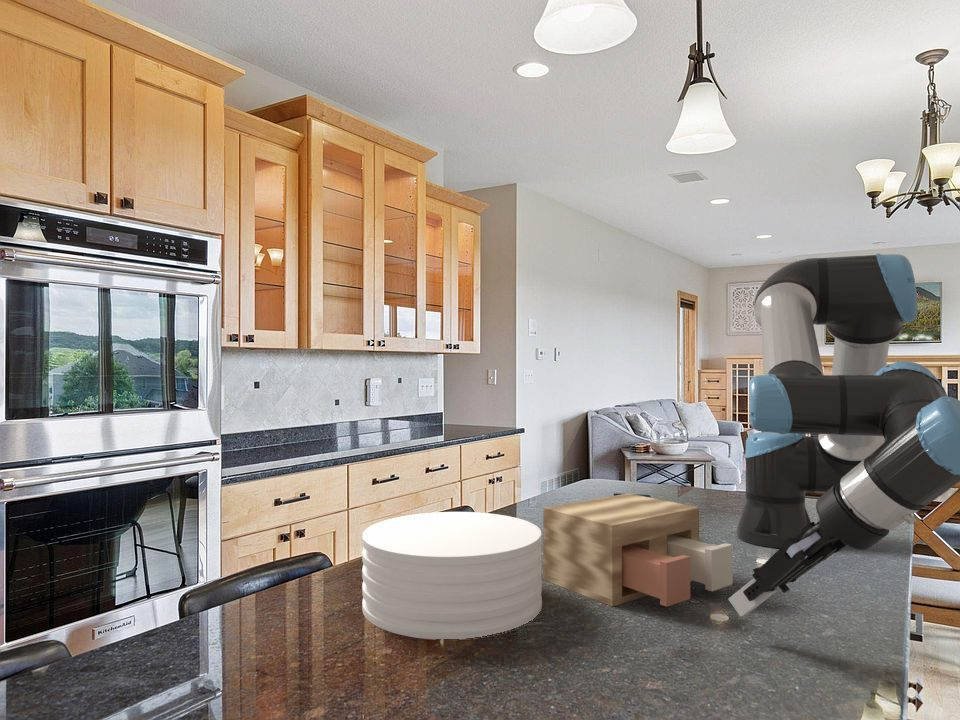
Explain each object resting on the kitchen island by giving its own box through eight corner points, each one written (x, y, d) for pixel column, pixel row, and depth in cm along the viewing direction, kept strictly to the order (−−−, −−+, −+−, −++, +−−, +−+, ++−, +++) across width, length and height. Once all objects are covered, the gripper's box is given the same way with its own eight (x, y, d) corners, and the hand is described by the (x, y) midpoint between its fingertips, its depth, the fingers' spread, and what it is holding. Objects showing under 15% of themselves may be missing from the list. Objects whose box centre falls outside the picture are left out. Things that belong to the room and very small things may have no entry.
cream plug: (732, 584, 107) (732, 544, 107) (711, 591, 104) (711, 550, 104) (648, 559, 121) (648, 524, 121) (627, 564, 118) (627, 528, 118)
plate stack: (578, 603, 104) (577, 530, 104) (446, 659, 84) (446, 569, 84) (456, 566, 124) (456, 504, 124) (326, 604, 104) (326, 531, 104)
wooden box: (699, 579, 115) (699, 507, 115) (612, 606, 102) (612, 525, 102) (628, 557, 128) (628, 493, 128) (543, 579, 115) (543, 507, 115)
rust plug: (690, 598, 101) (690, 556, 101) (666, 606, 97) (666, 563, 97) (606, 570, 114) (606, 533, 115) (583, 576, 111) (582, 538, 111)
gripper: (862, 541, 72) (726, 644, 85) (913, 524, 79) (781, 621, 93) (813, 485, 76) (691, 591, 89) (866, 474, 84) (746, 573, 97)
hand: (737, 606), depth 91 cm, fingers closed
